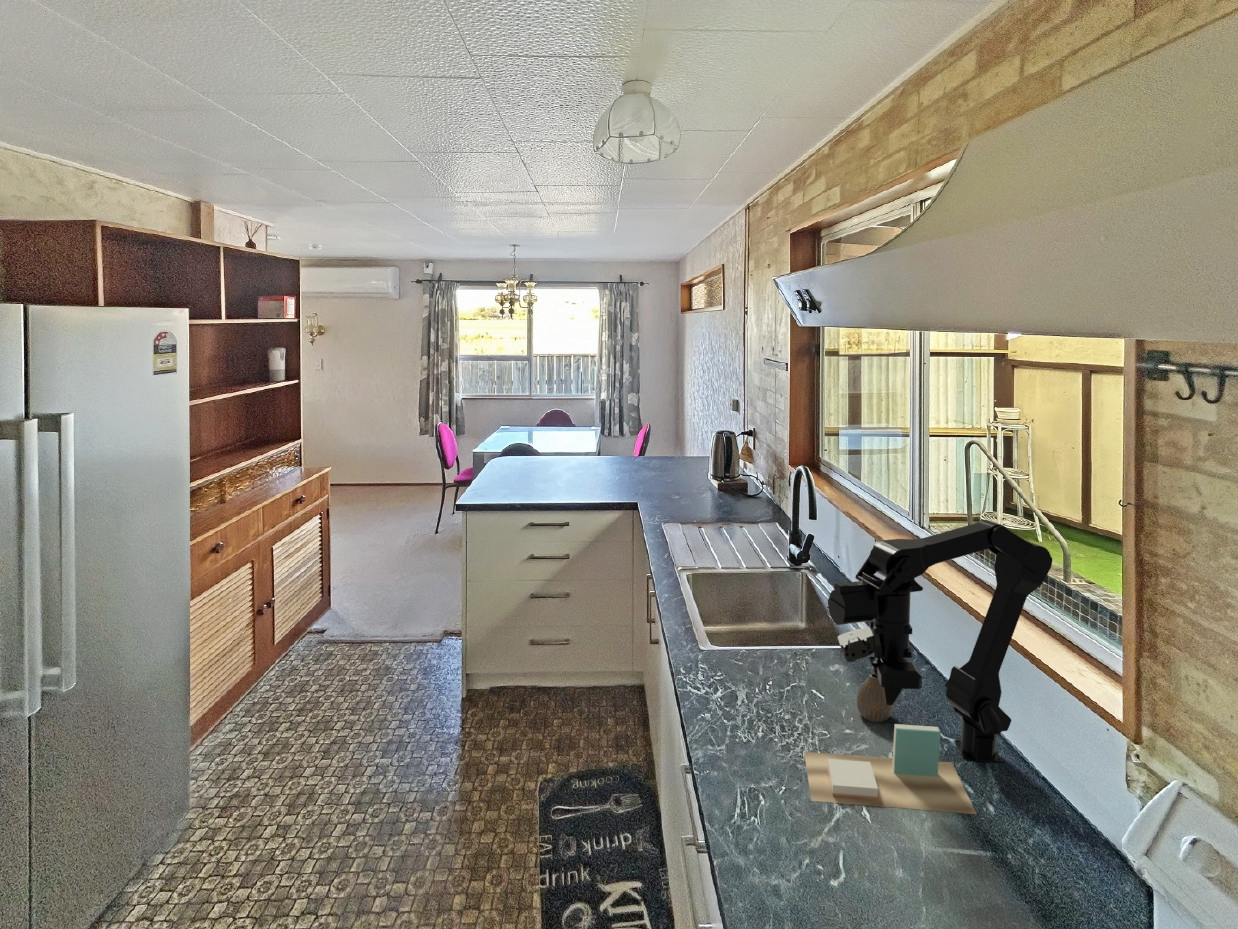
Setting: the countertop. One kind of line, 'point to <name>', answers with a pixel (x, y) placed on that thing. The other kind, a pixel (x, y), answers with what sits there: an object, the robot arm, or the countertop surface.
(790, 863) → the countertop surface
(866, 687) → the vase
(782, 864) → the countertop surface
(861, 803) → the cork mat
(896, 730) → the teal tile
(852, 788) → the terracotta tile
